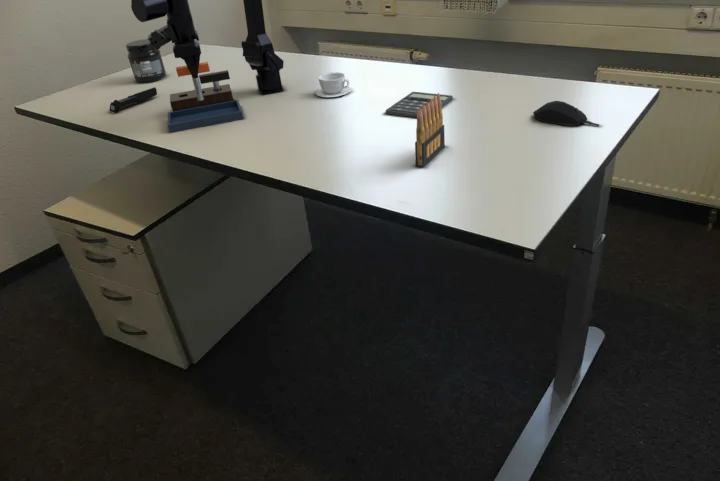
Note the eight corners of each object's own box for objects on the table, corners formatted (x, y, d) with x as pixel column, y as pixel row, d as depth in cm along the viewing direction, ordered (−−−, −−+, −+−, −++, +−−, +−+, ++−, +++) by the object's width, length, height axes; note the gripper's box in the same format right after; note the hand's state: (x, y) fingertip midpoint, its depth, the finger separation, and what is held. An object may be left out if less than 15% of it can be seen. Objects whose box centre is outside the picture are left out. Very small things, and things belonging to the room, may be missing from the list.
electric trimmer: (161, 97, 167) (158, 87, 166) (116, 113, 158) (112, 103, 156) (154, 96, 170) (151, 85, 168) (109, 111, 160) (105, 101, 158)
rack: (232, 99, 159) (229, 83, 156) (235, 106, 153) (231, 90, 151) (174, 109, 156) (170, 94, 153) (174, 117, 150) (169, 101, 147)
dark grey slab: (234, 101, 157) (227, 70, 152) (235, 103, 155) (228, 71, 150) (206, 106, 155) (198, 75, 150) (207, 108, 154) (199, 76, 149)
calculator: (385, 109, 136) (412, 90, 147) (385, 113, 137) (413, 94, 147) (427, 115, 131) (453, 94, 141) (427, 118, 131) (453, 98, 142)
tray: (239, 106, 153) (237, 99, 152) (243, 118, 144) (241, 111, 143) (170, 119, 149) (167, 112, 148) (169, 132, 140) (167, 125, 139)
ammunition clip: (437, 145, 118) (436, 91, 112) (445, 146, 117) (444, 91, 111) (415, 166, 111) (413, 109, 104) (423, 167, 110) (421, 110, 103)
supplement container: (154, 72, 193) (144, 37, 186) (173, 75, 187) (163, 39, 180) (129, 81, 186) (117, 45, 179) (147, 85, 180) (136, 47, 174)
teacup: (310, 98, 153) (307, 81, 150) (325, 86, 161) (323, 70, 158) (342, 99, 149) (341, 82, 147) (356, 87, 157) (355, 71, 154)
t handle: (216, 96, 145) (207, 61, 140) (216, 98, 144) (208, 63, 139) (185, 101, 144) (175, 67, 139) (185, 103, 142) (175, 69, 137)
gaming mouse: (593, 131, 117) (596, 113, 115) (528, 119, 125) (529, 102, 123) (604, 121, 121) (607, 103, 118) (540, 110, 129) (542, 94, 127)
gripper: (145, 11, 138) (163, 73, 147) (142, 24, 123) (162, 93, 131) (190, 4, 140) (205, 66, 149) (192, 17, 125) (209, 84, 133)
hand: (195, 77), depth 141 cm, fingers closed on t handle, 2 cm apart
